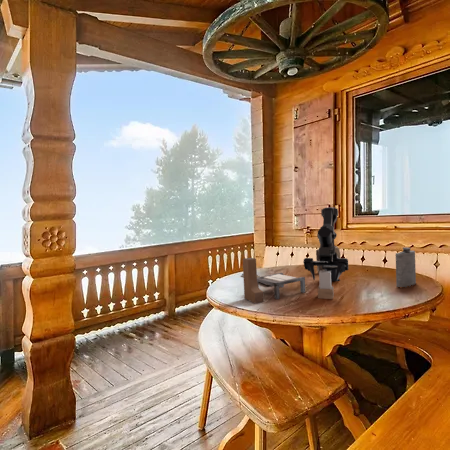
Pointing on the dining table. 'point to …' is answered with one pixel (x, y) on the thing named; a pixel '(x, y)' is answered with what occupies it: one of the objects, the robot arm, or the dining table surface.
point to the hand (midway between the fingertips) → (325, 280)
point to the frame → (282, 283)
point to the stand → (325, 293)
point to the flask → (405, 268)
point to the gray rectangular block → (325, 279)
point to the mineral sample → (318, 258)
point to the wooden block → (251, 281)
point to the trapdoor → (277, 278)
